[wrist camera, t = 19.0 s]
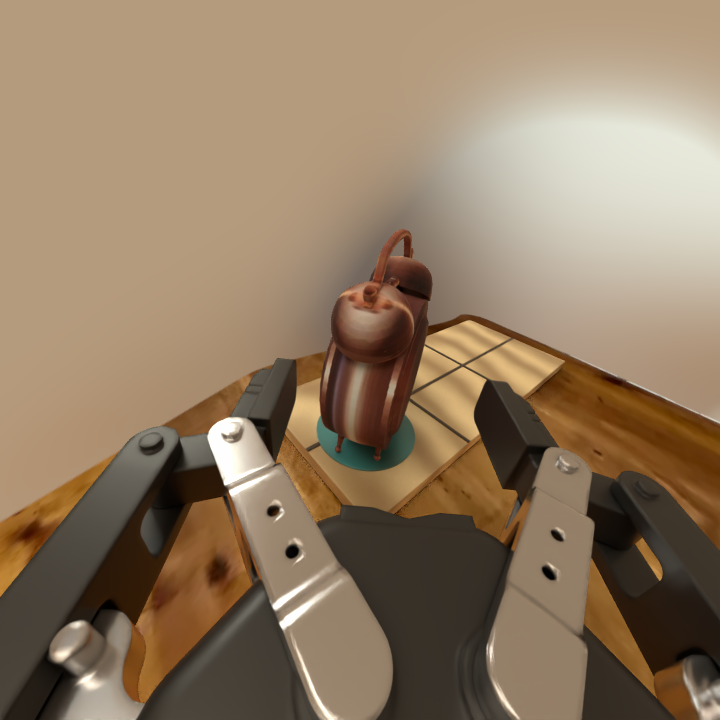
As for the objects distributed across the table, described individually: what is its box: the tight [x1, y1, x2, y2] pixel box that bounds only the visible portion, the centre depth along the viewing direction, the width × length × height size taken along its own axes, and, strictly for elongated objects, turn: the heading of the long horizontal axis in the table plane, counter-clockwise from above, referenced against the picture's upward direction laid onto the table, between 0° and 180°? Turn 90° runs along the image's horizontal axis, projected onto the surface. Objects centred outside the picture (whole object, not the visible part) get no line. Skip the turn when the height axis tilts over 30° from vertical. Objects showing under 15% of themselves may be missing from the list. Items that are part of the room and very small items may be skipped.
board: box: [285, 320, 565, 514], centre depth 32 cm, size 34×14×1 cm, turn 131°
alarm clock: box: [319, 229, 432, 461], centre depth 20 cm, size 11×5×15 cm, turn 160°
